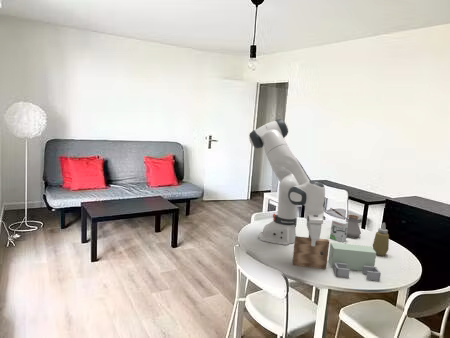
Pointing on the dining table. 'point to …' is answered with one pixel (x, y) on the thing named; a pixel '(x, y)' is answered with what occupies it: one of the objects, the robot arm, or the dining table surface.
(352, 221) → the coffee pot
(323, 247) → the brown wooden block
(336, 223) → the ink box
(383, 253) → the squeeze bottle
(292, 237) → the robot arm
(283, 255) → the dining table surface
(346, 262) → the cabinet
